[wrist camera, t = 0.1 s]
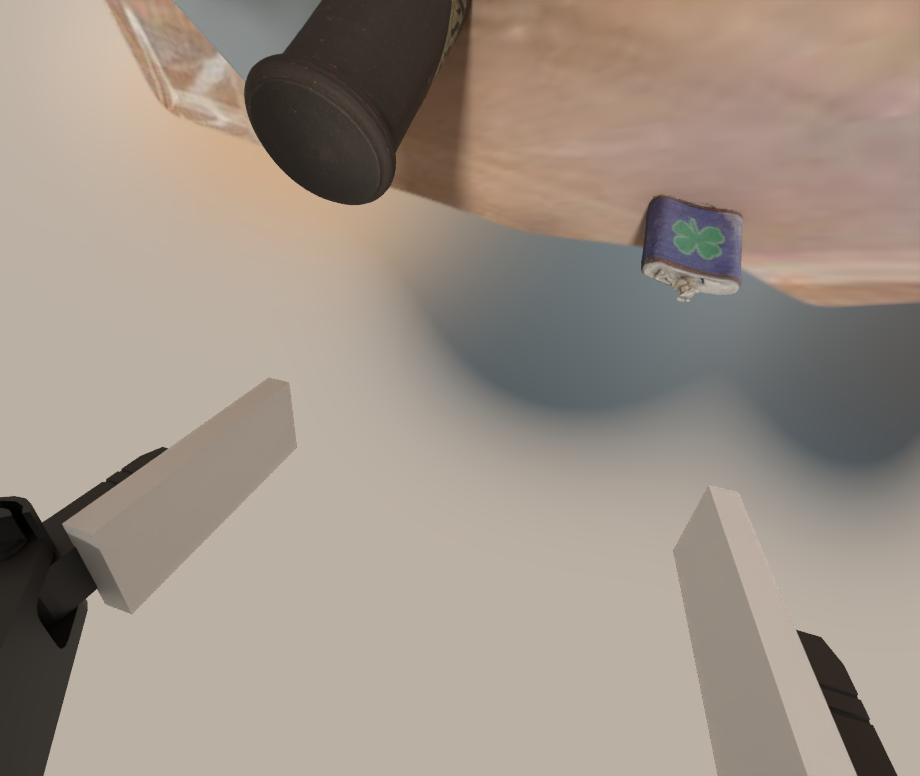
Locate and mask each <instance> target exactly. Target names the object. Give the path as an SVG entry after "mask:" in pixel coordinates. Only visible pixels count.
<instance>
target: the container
mask: <svg viewBox="0 0 920 776" xmlns="http://www.w3.org/2000/svg"><path fill="white" fill-rule="evenodd" d="M470 1H471V0H322V1H321V2H320V3H319V5H318V6H317V7H316V9H315V10H314V12H313V13H312V14H311V16H310V17H309V19H308V20H307V22H306V23H305V24H304V26H303V27H302V29H301V30H300V31H299V32H298V33H297V35H296V36H295V38H294V39H293V40H292V42H291V43H290V44H289V46H288V47H287V48H286V49H285V51H284V52H283V53H282V54H275V55H271V56H268V57H266V58H264V59H262V60H260V61H259V62H257V63H256V64H255V65H254V66H253V67H252V68H251V70H250V71H249V73H248V76H247V79H246V82H245V89H244V98H245V105H246V110H247V114H248V117H249V120H250V122H251V125H252V127H253V129H254V131H255V133H256V135H257V137H258V139H259V140H260V142H261V144H262V145H263V147H264V148H265V150H266V151H267V152H268V154H269V155H270V157H271V158H272V159H273V160H274V162H275V163H276V164H277V165H278V166H279V167H280V168H281V169H282V170H283V171H284V172H285V173H286V174H287V175H288V176H289V177H290V178H291V179H292V180H294V181H295V182H296V183H298V184H299V185H300V186H302V187H303V188H305V189H306V190H308V191H310V192H311V193H313V194H315V195H317V196H319V197H322V198H324V199H327V200H330V201H333V202H337V203H341V204H347V205H361V204H366V203H370V202H373V201H374V200H376V199H378V198H379V197H381V196H382V195H383V194H384V193H385V192H386V191H387V189H388V188H389V187H390V185H391V183H392V181H393V178H394V174H395V169H396V155H395V153H396V151H397V149H398V147H399V145H400V143H401V141H402V139H403V137H404V135H405V133H406V131H407V129H408V128H409V126H410V124H411V122H412V120H413V118H414V117H415V115H416V113H417V111H418V109H419V107H420V106H421V104H422V102H423V100H424V99H425V97H426V95H427V93H428V91H429V89H430V87H431V85H432V83H433V81H434V79H435V78H436V76H437V74H438V72H439V70H440V68H441V67H442V65H443V63H444V61H445V59H446V57H447V55H448V53H449V52H450V50H451V48H452V46H453V44H454V42H455V40H456V38H457V37H458V35H459V33H460V31H461V29H462V27H463V25H464V23H465V21H466V18H467V14H468V11H469V6H470Z"/></svg>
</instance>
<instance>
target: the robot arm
mask: <svg viewBox="0 0 920 776" xmlns="http://www.w3.org/2000/svg"><path fill="white" fill-rule="evenodd" d="M296 448H297V445H296V436H295V428H294V419H293V411H292V403H291V394H290V387H289V382H285V381H281V380H276V379H272V378H268V379H266V380H265V381H263V382H262V383H261V384H259V385H258V386H256V387H255V388H253V389H252V390H251V391H249V392H248V393H246V394H245V395H244V396H242V397H241V398H239V399H238V400H237V401H235V402H234V403H232V404H231V405H230V406H228V407H227V408H225V409H224V410H222V411H221V412H220V413H218V414H217V415H215V416H214V417H212V418H211V419H210V420H208V421H207V422H205V423H204V424H203V425H201V426H200V427H198V428H197V429H196V430H194V431H193V432H191V433H190V434H188V435H187V436H186V437H184V438H183V439H181V440H180V441H179V442H177V443H176V444H174V445H173V446H171V447H170V448H169V449H168V448H164V447H161V448H159V449H156V450H154V451H152V452H149V453H147V454H144V455H142V456H140V457H138V458H137V459H136V460H134V461H132V462H131V463H130V464H128V465H127V466H125V467H124V468H122V471H120V472H119V471H118V472H116V473H115V474H113V475H112V476H110V477H109V478H107V479H106V482H102V483H100V484H99V485H97V486H96V487H94V488H93V489H91V490H90V491H88V492H87V493H85V494H84V495H82V496H81V497H79V498H78V499H76V500H75V501H74V502H72V503H71V504H69V505H68V506H66V507H65V508H63V509H62V510H60V511H59V512H57V513H56V514H54V515H53V516H52V517H50V518H49V519H47V520H46V521H44V522H41V520H40V519H39V517H38V515H37V513H36V512H35V510H34V508H33V507H32V505H31V503H30V502H29V501H28V500H27V499H25V498H21V497H16V496H11V497H0V776H43V775H44V771H45V767H46V764H47V760H48V756H49V753H50V748H51V745H52V741H53V738H54V734H55V730H56V726H57V722H58V719H59V715H60V711H61V707H62V704H63V700H64V696H65V692H66V689H67V685H68V681H69V677H70V674H71V670H72V666H73V663H74V659H75V655H76V651H77V648H78V644H79V640H80V636H81V633H82V629H83V625H84V622H85V618H86V614H87V610H88V609H87V600H86V598H87V597H88V596H89V595H90V594H91V593H93V592H94V591H95V590H96V589H97V590H98V591H99V593H100V595H101V597H102V599H103V600H104V603H105V604H107V605H109V606H112V607H114V608H118V609H120V610H122V611H125V612H128V613H130V614H132V613H133V612H134V611H135V610H136V609H137V608H138V607H139V606H140V605H141V604H142V603H143V602H144V601H145V600H146V599H147V598H148V597H149V596H150V595H151V594H152V593H153V592H154V591H155V590H156V589H157V588H158V587H159V586H160V585H161V584H162V583H163V582H164V581H165V580H166V579H167V578H168V577H169V576H170V575H171V574H172V573H173V572H174V571H175V570H176V569H177V568H178V567H179V566H180V565H181V564H182V563H183V562H184V561H185V560H186V559H187V558H188V557H189V556H190V555H191V554H192V553H193V552H194V551H195V550H196V549H197V548H198V547H199V546H200V545H201V544H202V543H203V542H204V541H205V540H206V539H207V538H208V537H209V536H210V535H211V534H212V533H213V531H215V529H217V528H218V527H219V526H220V524H222V523H223V522H224V521H225V519H227V518H228V517H229V516H230V515H231V513H233V511H234V510H235V509H236V508H237V507H238V506H239V505H240V504H241V503H242V502H243V501H244V500H245V499H246V498H247V497H248V496H249V495H250V494H251V493H252V492H253V491H254V490H255V489H256V488H257V487H258V486H259V485H260V484H261V483H262V482H263V481H264V480H265V479H266V478H267V477H268V476H269V475H270V474H271V473H272V472H273V471H274V470H275V469H276V468H277V467H278V466H279V465H280V464H281V463H282V462H283V461H284V460H285V459H286V458H287V457H288V456H289V455H290V454H291V453H292V452H293V451H294V450H295V449H296ZM673 551H674V557H675V561H676V567H677V572H678V577H679V582H680V587H681V592H682V597H683V602H684V607H685V612H686V617H687V622H688V627H689V632H690V637H691V643H692V648H693V653H694V658H695V663H696V668H697V673H698V678H699V683H700V688H701V693H702V698H703V703H704V708H705V713H706V718H707V723H708V728H709V733H710V738H711V743H712V748H713V754H714V759H715V764H716V769H717V774H718V776H897V774H896V772H895V770H894V768H893V766H892V763H891V761H890V760H889V758H888V756H887V753H886V751H885V749H884V747H883V745H882V743H881V741H880V739H879V737H878V735H877V733H876V731H875V728H874V726H873V725H871V724H870V723H869V720H870V718H869V716H868V714H867V712H866V710H865V708H864V706H863V704H862V702H861V700H859V699H858V698H857V695H858V693H857V691H856V689H855V687H854V685H853V683H852V681H851V679H850V677H849V675H848V673H847V671H846V669H845V666H844V665H843V663H842V662H841V661H840V660H839V659H838V657H837V656H836V655H835V654H834V652H833V651H832V650H831V649H830V648H829V646H828V645H827V644H826V643H825V641H824V640H823V639H822V638H821V637H819V636H815V635H812V634H808V633H805V632H801V631H798V630H796V629H795V627H794V624H793V622H792V619H791V617H790V615H789V613H788V610H787V608H786V605H785V603H784V601H783V598H782V596H781V593H780V591H779V589H778V586H777V584H776V582H775V579H774V577H773V574H772V572H771V569H770V567H769V565H768V562H767V560H766V558H765V555H764V553H763V551H762V548H761V546H760V543H759V541H758V538H757V536H756V534H755V531H754V529H753V527H752V524H751V522H750V519H749V517H748V515H747V512H746V510H745V508H744V505H743V503H742V501H741V498H740V496H739V493H738V492H735V491H731V490H727V489H723V488H719V487H715V486H710V485H708V487H707V489H706V491H705V493H704V494H703V496H702V498H701V500H700V502H699V504H698V505H697V507H696V509H695V511H694V513H693V515H692V517H691V518H690V520H689V522H688V524H687V526H686V528H685V530H684V531H683V533H682V535H681V537H680V539H679V541H678V543H677V544H676V546H675V548H674V550H673Z"/></svg>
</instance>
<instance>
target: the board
mask: <svg viewBox="0 0 920 776" xmlns="http://www.w3.org/2000/svg"><path fill="white" fill-rule="evenodd" d="M321 1H322V0H173V2H174V3H175V4H176V5H177V6H178V7H179V8H180V9H181V11H182V12H183V13H184V14H185V15H186V16H187V17H188V18H189V19H190V21H191V22H192V23H193V24H194V25H195V26H196V27H197V28H198V30H199V31H200V32H201V33H202V34H203V35H204V36H205V37H206V38H207V40H208V41H209V42H210V43H211V44H212V45H213V46H214V47H215V49H216V50H217V51H218V52H219V53H220V54H221V55H222V56H223V57H224V59H225V60H226V61H227V62H228V63H229V64H230V65H231V66H232V68H233V69H234V70H235V71H236V72H237V73H238V74H239V75H240V77H241V78H242V79H243V80H244V81H245V82H246V79H247V76H248V73H249V71H250V70H251V68H252V67H253V66H254V65H255V64H256V63H257V62H259V61H260V60H262V59H264V58H266V57H268V56H271V55H275V54H282V53H283V52H284V51H285V49H286V48H287V47H288V46H289V44H290V43H291V42H292V40H293V39H294V38H295V36H296V35H297V33H298V32H299V31H300V30H301V29H302V27H303V26H304V24H305V23H306V22H307V20H308V19H309V17H310V16H311V14H312V13H313V12H314V10H315V9H316V7H317V6H318V5H319V3H320V2H321Z"/></svg>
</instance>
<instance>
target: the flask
mask: <svg viewBox="0 0 920 776" xmlns="http://www.w3.org/2000/svg"><path fill="white" fill-rule="evenodd" d="M742 231H743V217H742V215H741V214H739V213H738V212H736V211H733V210H731V209H728V208H727V209H726V210H724V209H721V208H716V207H713V205H709V204H708V203H707V204H704V203H695V204H694V203H691V202H690V200H685V201H683V200H680V199H679V198H678V197H673V196H670V195H667V194H662V195H658V196H653V199H652V201H651V202H650V205H649V209H648V213H647V220H646V231H645V240H644V247H643V256H642V261H641V264H642V265H641V270H642V273H643V274H645V275H646V276H647V277H649V278H652V279H655V280H657V281H660V282H662V283H664V284H667V285H671V286H672V288H673V289H675V291H680V292H681V293H680V296H682V297H685V298H691V297H692V296H693V295H694V294H695V293H699V292H702V293H709V294H716V295H730V294H733V293H735V292H736V291H738V290H739V289H740V287H741V284H742V277H741V253H742ZM677 300H678V301H679V302H684V299H682V298H679V297H678V298H677ZM686 302H689V300H686Z"/></svg>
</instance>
